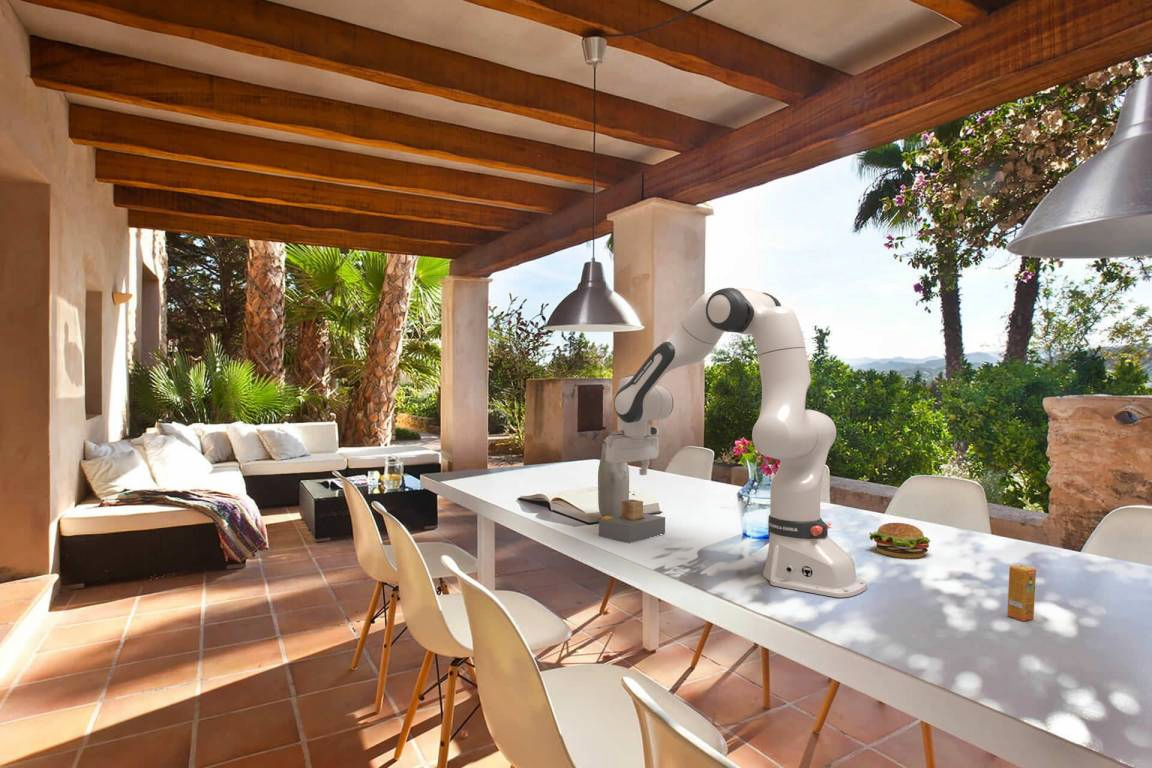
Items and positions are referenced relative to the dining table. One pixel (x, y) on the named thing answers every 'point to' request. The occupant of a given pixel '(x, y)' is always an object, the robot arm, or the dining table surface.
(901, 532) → the food
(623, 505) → the oak peg
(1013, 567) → the supplement box
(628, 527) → the socket block
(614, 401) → the robot arm
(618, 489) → the gray bottle
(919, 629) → the dining table surface
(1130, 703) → the dining table surface
